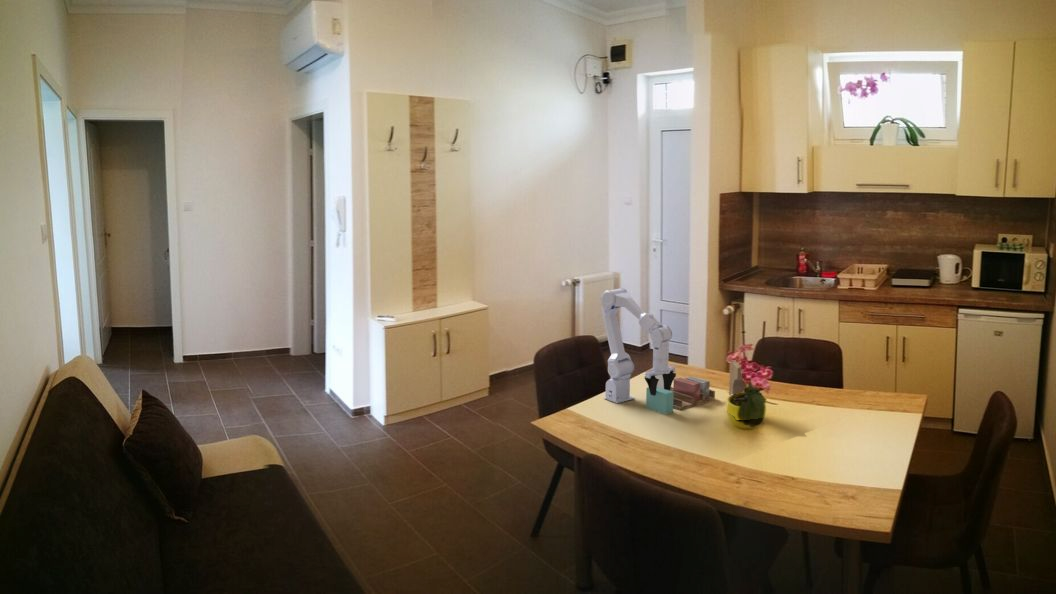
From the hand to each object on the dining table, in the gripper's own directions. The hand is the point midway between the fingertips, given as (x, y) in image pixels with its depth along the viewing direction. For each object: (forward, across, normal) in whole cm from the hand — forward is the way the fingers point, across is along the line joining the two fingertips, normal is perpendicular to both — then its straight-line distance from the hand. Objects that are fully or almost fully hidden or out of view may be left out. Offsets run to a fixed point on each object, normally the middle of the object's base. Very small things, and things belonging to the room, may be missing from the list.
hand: (660, 393), depth 270 cm
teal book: (+7, 0, 0) cm, 7 cm away
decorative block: (+7, +18, -23) cm, 30 cm away
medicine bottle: (+7, +21, +19) cm, 29 cm away
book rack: (+7, +16, +1) cm, 17 cm away
